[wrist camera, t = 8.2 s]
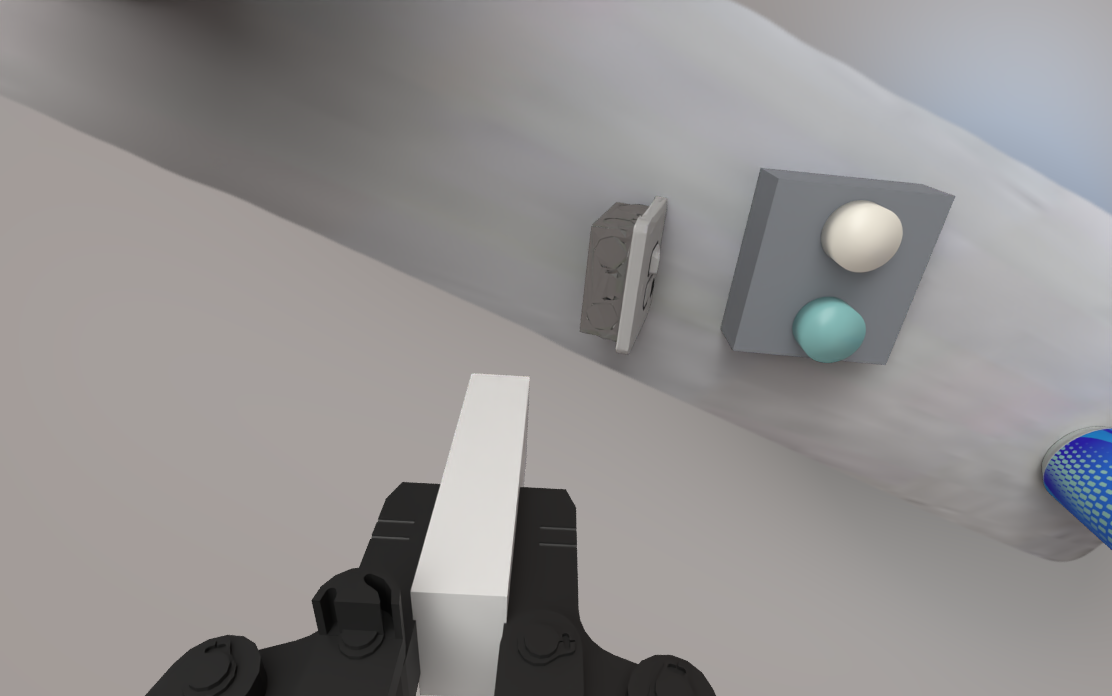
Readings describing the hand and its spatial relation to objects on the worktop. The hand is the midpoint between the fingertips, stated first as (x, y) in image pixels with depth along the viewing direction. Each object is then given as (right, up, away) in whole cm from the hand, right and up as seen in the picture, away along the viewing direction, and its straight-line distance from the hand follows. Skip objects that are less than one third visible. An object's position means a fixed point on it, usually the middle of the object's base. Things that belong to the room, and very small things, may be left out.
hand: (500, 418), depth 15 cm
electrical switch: (+7, +9, +30) cm, 32 cm away
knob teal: (+21, +5, +30) cm, 37 cm away
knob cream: (+22, +11, +26) cm, 36 cm away
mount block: (+22, +9, +29) cm, 37 cm away
